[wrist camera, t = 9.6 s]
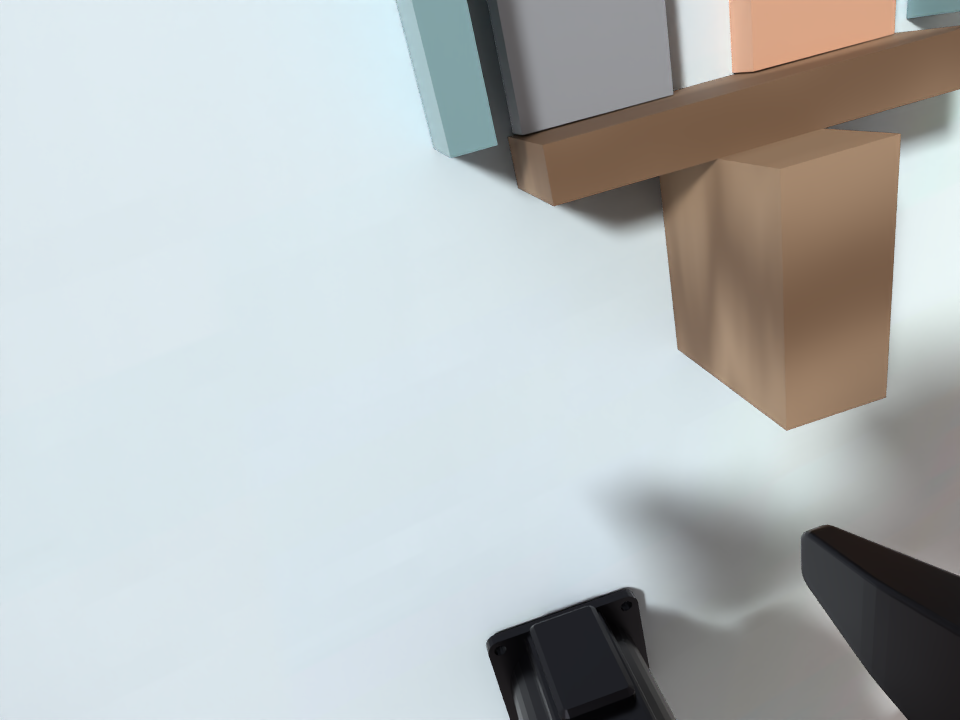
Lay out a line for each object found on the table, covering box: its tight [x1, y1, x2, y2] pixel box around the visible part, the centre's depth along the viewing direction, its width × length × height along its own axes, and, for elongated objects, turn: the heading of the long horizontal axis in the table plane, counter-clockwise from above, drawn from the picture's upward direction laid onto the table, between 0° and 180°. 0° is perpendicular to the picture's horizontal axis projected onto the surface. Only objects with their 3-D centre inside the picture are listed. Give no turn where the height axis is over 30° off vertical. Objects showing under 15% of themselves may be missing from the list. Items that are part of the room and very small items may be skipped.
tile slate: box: [487, 0, 673, 135], centre depth 17 cm, size 4×4×2 cm
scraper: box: [508, 26, 960, 431], centre depth 18 cm, size 8×12×6 cm
